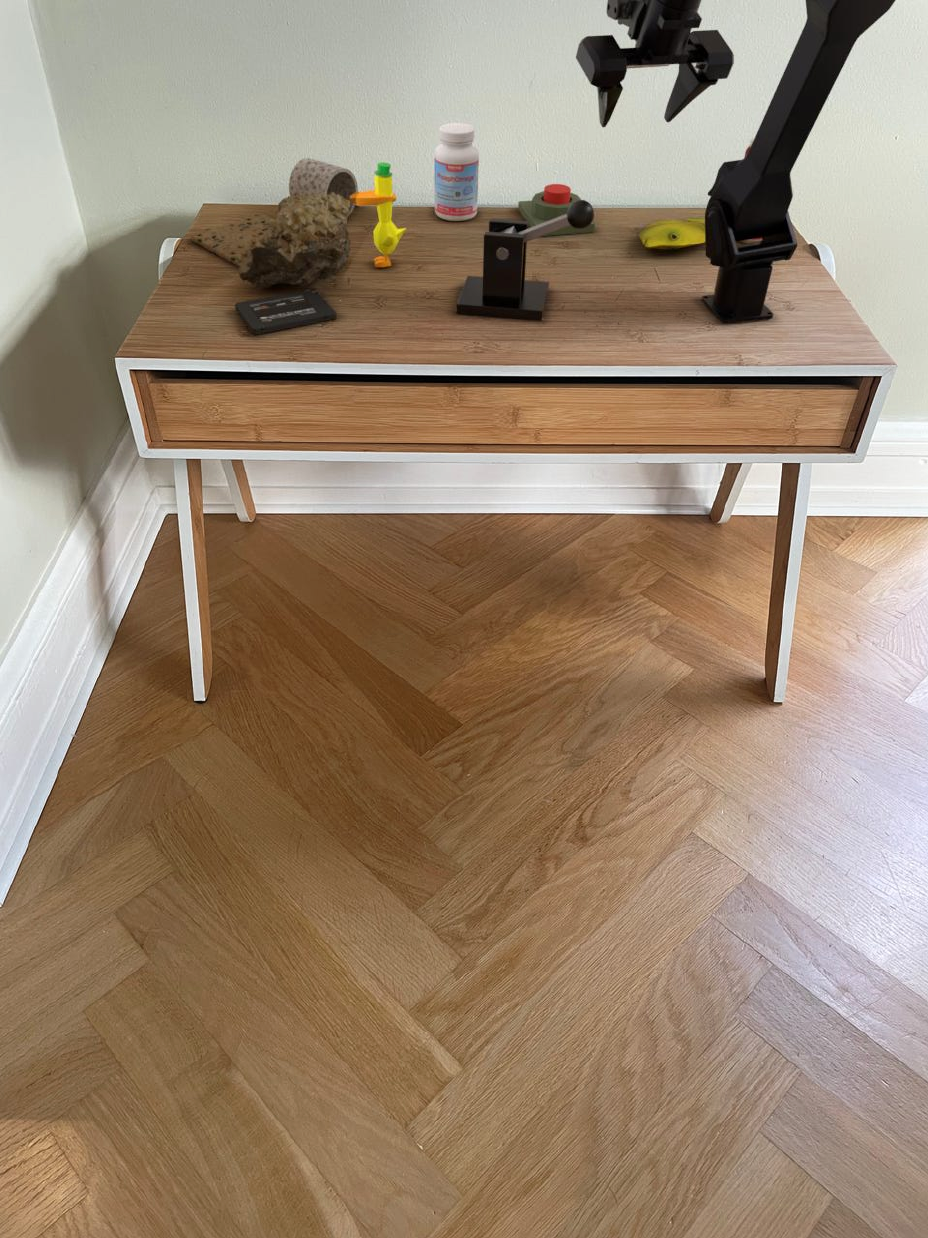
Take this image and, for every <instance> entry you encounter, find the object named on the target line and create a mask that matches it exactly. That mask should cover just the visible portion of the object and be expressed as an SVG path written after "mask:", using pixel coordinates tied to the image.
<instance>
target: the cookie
mask: <svg viewBox="0 0 928 1238" xmlns="http://www.w3.org/2000/svg"><path fill="white" fill-rule="evenodd" d="M268 220H276V218H273V217H272V216H270V215H267V214H266V213H264V214H254V215H253V216H250V217H244V218H243V219H241V220H237V221H235V222H231V223H228V224H224V225H221V226H216V227H211V228H209V227H207V228H205V230H203V231H200V232H198V233H195V234H193V235H191V241H192V242H194V243H196V244H197V245H199V246H201V247H202V248H204V249H206V250H207V251H208V252H212V253H213V254H214V255H217V257H218V256H219V257H220V258H223V259H224V260H226V261H227V262H229V263H230V264H233V265H235V266H236V267H237V268H239V266H237V265H236V264H238V263H239V262H238V261H237V259H236V257H235V256H234V255H239V254H241V252H242V253H243V254H245V253H246V251H248V248H247V246H248V242H249V241H251V238H252V239H253V240H254V241H255V239H256V237H257V235H258V236H259V237H260V238H262V237H263V236H264V235H265V234H266V233H268V236H270V225H269V224H268V222H267V221H268Z"/></svg>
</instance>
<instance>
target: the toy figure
mask: <svg viewBox="0 0 928 1238" xmlns="http://www.w3.org/2000/svg"><path fill="white" fill-rule="evenodd" d="M391 167H392V166H391V164H390V163H389V162H385V161H381V162H377V169H376V170H375V171H374V175H375V176H374V189H371V190H362V191H358V192H356V193H354V194H352V195H350V201H351V202H353V203H354V204H356V205H355V206H357V207H372V206H376V210H377V217H378V222H377V224H376V226H375V228H374V229H373V244H374V246H375V247H376V249H377V250H378V252H380V253H381V254H383V256H377V257H375V258H374V259H373V262H374V266H375V268H386V267H391V266H392V262H391V259H390V258H389V254H392V253H393V252H394V250H395V249H396V247H397V245H398V244H399V241H400V239H401V238H402V236H403V235H404V233H405V231H406V230H407V227H403V228H398V227H397V226H396V225H395V223H394V222H393V221H392V214H393V202H396V201H397V197H396V193H393V192H394V190H393V173H392V172H391Z"/></svg>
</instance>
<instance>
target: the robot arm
mask: <svg viewBox="0 0 928 1238" xmlns="http://www.w3.org/2000/svg"><path fill="white" fill-rule="evenodd" d="M895 2H896V0H805V8H806V9H805V10H806V21H805V24H804V26H803V29H802V31H801V33H800V35H799V37H798V40H797V42H796V44H795V46H794V49H793V50H792V53H791V55H790V58H789V59H788V62H787V64H786V67H785V69H784V70H783V71H784V72H783V74H782V76H781V78H780V80H779V82H778V85H777V87H776V89H775V91H774V93H773V96H772V98H771V100H770V103H769V105H768V107H767V109H766V111H765V114H764V115H763V117H762V120H761V123H760V125H759V127H758V129H757V131H756V134H755V136H754V137H753V138H754V141H753V143H752V145H751V147H750V150H749V152H748V154H747V155H746V157H745V156H744V157H745V158H743V159H736V160H729V161H724V162H722V164H721V165H720V167H718V168H719V169H718V170H717V173H716V178H715V181H714V182H713V183H714V184H713V185H712V187H711V188H710V189H709V191H708V192H707V196H708V197H709V199H708V201H707V204H706V207H705V213H704V219H705V223H704V225H705V242H704V246H705V247H704V249H705V250H704V251H705V256H706V258H708V260H710V261H709V264H710V265H711V266H713V267H718V270H717V271H718V272H717V277H716V281H715V287H714V291H713V292H714V293H713V294H707V295H701V299H700V301H701V303H703V304H704V305H705V307H706V308H707V309H708V310H709V311H710V312H711V313H712V314H713V315H714V316H715V318H717V320H719V322H720V323H723V324H730V323H740V322H751V321H760V320H762V321H763V320H770V319H773V317H774V312H772V310H770V309H769V308H768V306H767V305H765V302H766V299H767V298H766V297H767V293H768V289H769V285H770V281H771V277H772V272H773V264H774V262H780V261H790V260H791V258H792V257H793V255H794V253H795V252H796V249H797V248H798V241H797V237H796V234H795V230H794V227H793V224H792V220H791V216H790V213H789V209H790V206H791V202H792V201H793V197H794V193H793V185H792V177H791V172H792V170H793V169H794V166H795V164H796V162H797V160H798V158H799V156H800V155H801V152H802V150H803V148H804V146H805V144H806V142H807V140H808V138H809V136H810V134H811V132H812V130H813V128H814V125H815V124H816V122H817V120H818V118H819V116H820V114H821V112H822V110H823V108H824V106H825V104H826V102H827V100H828V98H829V95H830V94H831V92H832V90H833V88H834V85H835V84H836V81H837V79H838V78H839V76H840V74H841V71H842V69H843V68H844V66H845V64H846V62H847V60H848V58H849V56H850V54H851V52H852V50H853V48H854V46H855V44H856V42H857V41H858V39H859V38H860V37H861V36H862V35H863V34H864V33H865V32H866V31H867V30H869V28H871V27H872V26H873V25H874V24H875V23H877V22H878V21H879V20H880V19H881V18H882V17H883V16H884V15H885V14H886V13H887V12H888V11H890V9H891V8H892V6H893V5H894V4H895ZM701 3H702V0H607V2H606V16H607V17H608V18H610V19H612V20H614V21H617V24H618V25H619V26H621V25H622V26H623V25H624V26H626V27H628V30H627V35H628V37H629V39H630V40H631V41H635V44H634V47H622V48H621V47H620V44H619V43H618V42H617V40H616V39H615V37H614V35H613V34H607V35H587V36H585V37H584V38H582V39H581V40H580V42H579V44H578V46H577V51H576V54H575V59H576V61H577V63H578V64H579V66H580V68H581V70H582V72H583V74H584V75H585V76H586V78H587V80H588V83H589V84H590V85H591V86H594V87H596V89H597V101H598V103H597V105H598V114H599V115H598V116H599V118H598V119H599V124H600V126H601V127H602V128H606V127H607V125H608V123H609V122H610V120H611V118H612V116H613V113H614V112H615V109H616V106H617V104H618V102H619V99H620V97H621V94H622V93H623V90H624V87H623V85H622V84H621V83H622V82H623V81H624V80H625V78H626V75H627V71H628V70H627V69H642V68H658V67H669V66H670V65H678V73H677V76H676V79H675V82H674V85H673V87H672V90H671V93H670V96H669V99H668V102H667V104H666V106H665V107H666V108H665V111H664V115H663V119H664V121H665V122H666V123H670V122H672V121H673V120H674V119H675V118H676V117H677V116H678V115H679V114H680V113H681V112H682V111H683V110H685V108H686V107H688V105H690V104H691V103H692V102H693V101H694V100H695V99H696V98H697V97H699V96H700V95H701V94H702V93H703V92H705V91H706V90H707V89H709V88H710V87H711V86H716V85H717V84H718V81H719V80H723V79H724V80H725V79H726V80H727V79H728V77H729V76H730V73H731V71H732V68H733V66H734V63H735V54H734V52H733V50H732V49H731V47H730V46H729V44H728V43H727V41H726V40H725V38H724V37H723V36H722V34H721V33H720V32H719V29H708V30H707V29H706V30H693V31H692V29H699V28H700V26H701V23H702V21H703V17H701V15H700V14H699V9H700V7H701ZM761 237H762V241H758V242H752V243H742V244H741V243H740V244H737V243H738V242H739V241H743V240H749V239H755V238H761Z"/></svg>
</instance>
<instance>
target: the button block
mask: <svg viewBox="0 0 928 1238" xmlns="http://www.w3.org/2000/svg"><path fill="white" fill-rule="evenodd" d="M543 200H544V190H543V191H540V192H536V193H535V194H534V195H533V196H532V198H531V200H519V201H518V205H517V211H518V212H519V213H520V214H521V216H522V217H523V219H524V221H528V227H529V228H531V227H534V226H536V225H539V224H541V223H544V222H547V221H549V220H552V219H554V218H557V217H559V216H562V215H564V214H567V211H568V208H569V206H570V205H571V204H572V203H573V202H575V201H577V200H582V199H581V197H580V196H579V195H578V194H575V193H574V192H570V202H569V203H566V204H558V205H557V204H549V203H546V202H544V201H543ZM594 232H595V222H594V220H593V221H592V223H591V224H590V225H589V226H588V227H586V228H584V229H575V228H573V227H572V226H571V225H569V226H566V227H564V228H561V229H559V230H556V231H553V232H551V233H548V234H546V235H543V236H542V237H551V236H564V235H575V234H588V233H594Z"/></svg>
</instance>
